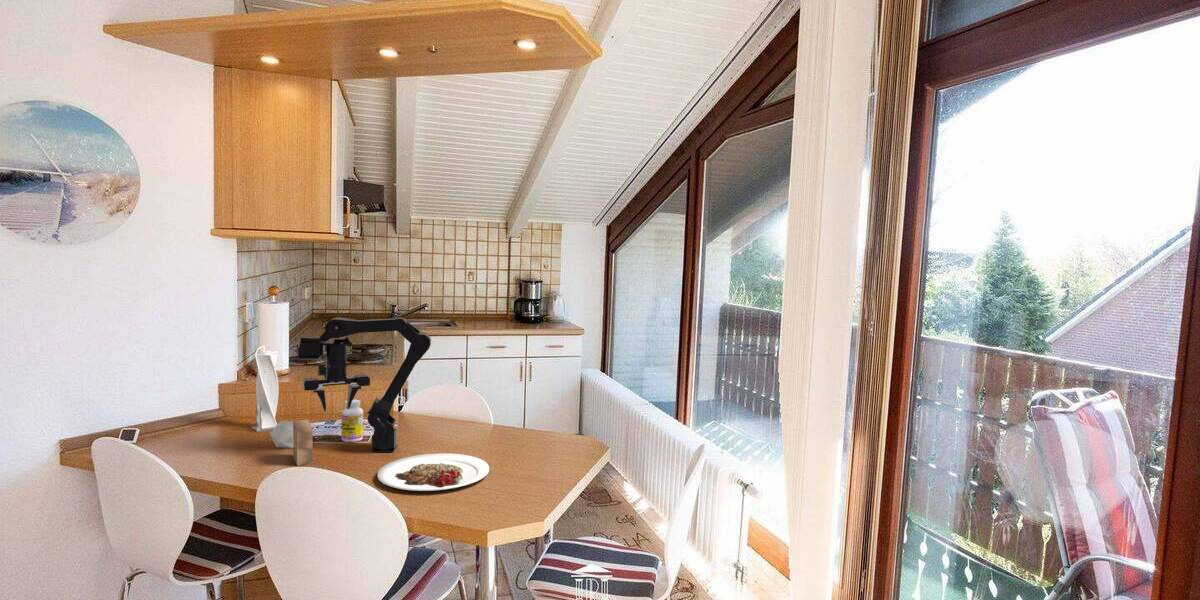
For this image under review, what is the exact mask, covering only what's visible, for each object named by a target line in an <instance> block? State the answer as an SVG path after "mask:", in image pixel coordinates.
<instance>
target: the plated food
mask: <svg viewBox="0 0 1200 600" xmlns="http://www.w3.org/2000/svg"><path fill="white" fill-rule="evenodd" d="M489 471H490V466H489V463H487V462H486V461H485V460H483V459H481V458H478V457H476V456H473V455H469V454H468V455H467V454H461V453H450V452H449V453H446V452H444V453H437V452H436V453H425V454H416V455H410V456H406V457H403V458H398V459H396V460H393V461H391V462H388V463H387V464H385V465H383V466H382V467H380V468H379V470H378V471H377V479H378V480H379V482H381V483H382V484H383V485H386V486H388V487H391V488H395V489H397V490H398V489H399V490H406V491H419V492H429V491H430V492H431V491H432V492H433V491H435V492H436V491H444V490H450V489H451V490H452V489H457V488H460V487H464V486H465V487H466V486H469V485H471V484H475V483H476V482H479V481H480V480H483V479H484V478H485V477H486V476H487V475H488V474H489Z"/></svg>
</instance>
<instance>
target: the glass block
mask: <svg viewBox="0 0 1200 600" xmlns="http://www.w3.org/2000/svg"><path fill="white" fill-rule="evenodd" d="M292 421H293V448H292V449H293V450H292V451H293V454H292V455H293V459H294V462H295V464H296V466H297V467H303V466H309V465H311V466H312V465H314V464H313V461H314V459H313V456H314V454H313V426H312V424H311V422H310V420H309V419H302V420H292Z"/></svg>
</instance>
